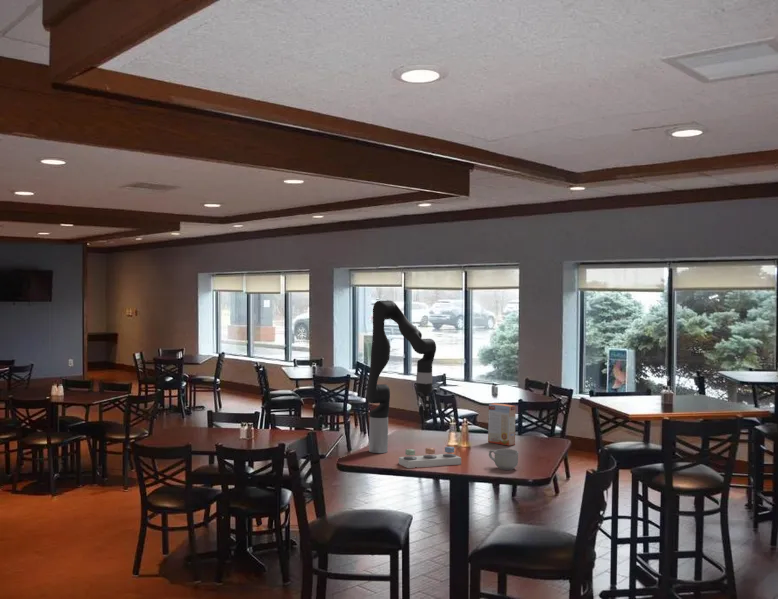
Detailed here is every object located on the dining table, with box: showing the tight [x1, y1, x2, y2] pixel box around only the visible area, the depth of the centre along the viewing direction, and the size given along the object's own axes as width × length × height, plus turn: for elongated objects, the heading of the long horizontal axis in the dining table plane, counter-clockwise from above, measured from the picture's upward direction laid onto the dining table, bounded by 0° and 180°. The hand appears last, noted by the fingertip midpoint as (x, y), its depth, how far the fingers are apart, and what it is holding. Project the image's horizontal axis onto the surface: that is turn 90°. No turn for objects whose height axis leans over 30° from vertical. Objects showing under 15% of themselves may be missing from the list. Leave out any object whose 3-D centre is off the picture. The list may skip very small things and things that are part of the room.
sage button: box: [404, 448, 416, 456], centre depth 340 cm, size 4×4×2 cm
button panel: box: [398, 453, 462, 469], centre depth 344 cm, size 10×27×4 cm, turn 112°
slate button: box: [444, 446, 455, 454], centre depth 348 cm, size 4×4×2 cm
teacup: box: [488, 448, 519, 471], centre depth 338 cm, size 14×11×8 cm
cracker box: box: [487, 402, 517, 447], centre depth 399 cm, size 14×6×21 cm, turn 44°
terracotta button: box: [424, 447, 436, 455], centre depth 344 cm, size 4×4×2 cm
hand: (423, 416), depth 347 cm, fingers open, 8 cm apart
